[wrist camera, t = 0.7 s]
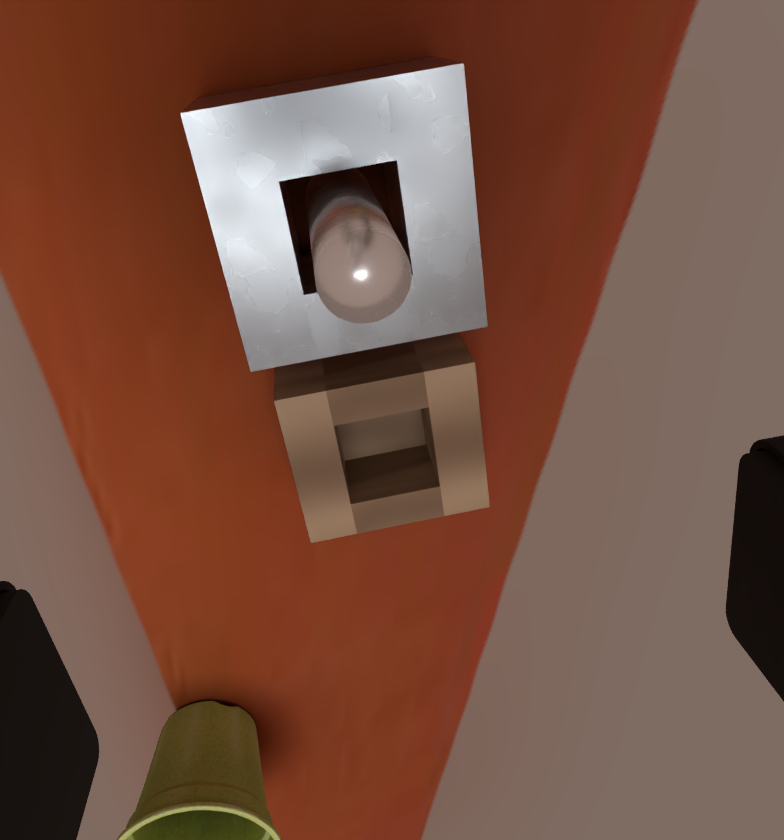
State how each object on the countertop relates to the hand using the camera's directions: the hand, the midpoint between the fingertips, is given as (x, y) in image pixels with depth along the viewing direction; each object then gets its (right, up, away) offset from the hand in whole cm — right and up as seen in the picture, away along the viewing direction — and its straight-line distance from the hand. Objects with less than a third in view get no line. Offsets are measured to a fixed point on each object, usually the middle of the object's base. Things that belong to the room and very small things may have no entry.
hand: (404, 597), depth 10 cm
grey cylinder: (-3, +12, +23) cm, 27 cm away
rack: (-1, +3, +29) cm, 29 cm away
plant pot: (-12, -18, +39) cm, 45 cm away
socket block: (-3, +12, +23) cm, 27 cm away
